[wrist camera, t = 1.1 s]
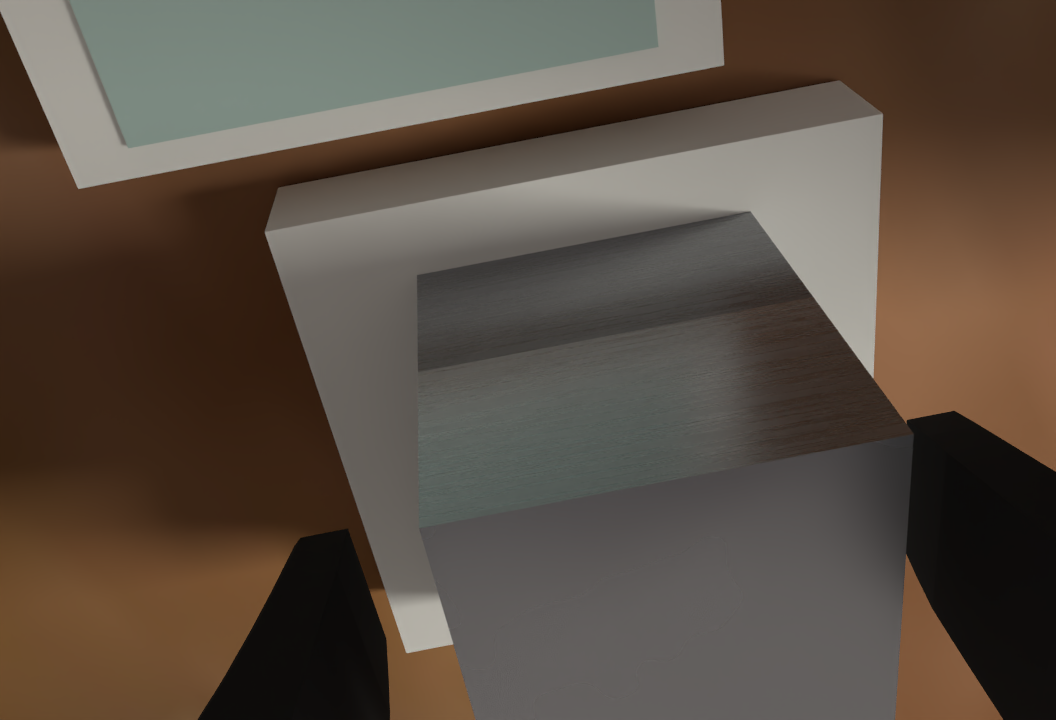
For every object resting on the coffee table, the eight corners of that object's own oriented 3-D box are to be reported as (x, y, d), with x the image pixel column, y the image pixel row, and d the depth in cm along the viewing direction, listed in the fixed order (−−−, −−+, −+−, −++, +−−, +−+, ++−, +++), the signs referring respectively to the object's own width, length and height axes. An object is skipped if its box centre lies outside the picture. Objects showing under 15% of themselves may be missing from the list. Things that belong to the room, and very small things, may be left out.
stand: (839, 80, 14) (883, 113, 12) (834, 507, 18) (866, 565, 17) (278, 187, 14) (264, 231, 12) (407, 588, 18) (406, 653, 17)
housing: (750, 211, 13) (914, 433, 9) (763, 541, 16) (888, 821, 12) (417, 275, 13) (419, 528, 9) (496, 592, 16) (526, 891, 12)
